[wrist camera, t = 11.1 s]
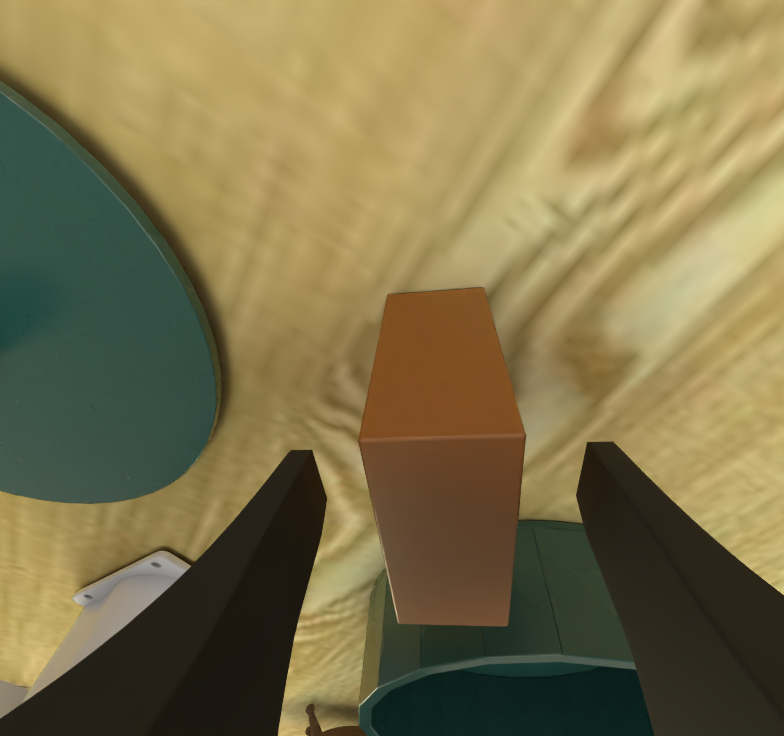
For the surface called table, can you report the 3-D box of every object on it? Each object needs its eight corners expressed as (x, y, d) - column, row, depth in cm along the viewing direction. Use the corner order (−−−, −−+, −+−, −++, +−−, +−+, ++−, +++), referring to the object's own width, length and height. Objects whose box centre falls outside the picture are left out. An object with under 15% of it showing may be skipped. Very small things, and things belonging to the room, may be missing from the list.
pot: (509, 693, 30) (524, 799, 25) (315, 608, 25) (291, 722, 20) (750, 616, 22) (833, 753, 17) (536, 466, 17) (576, 605, 12)
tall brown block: (405, 453, 17) (394, 624, 11) (384, 293, 13) (352, 440, 7) (484, 450, 16) (512, 627, 11) (487, 286, 12) (532, 435, 7)
